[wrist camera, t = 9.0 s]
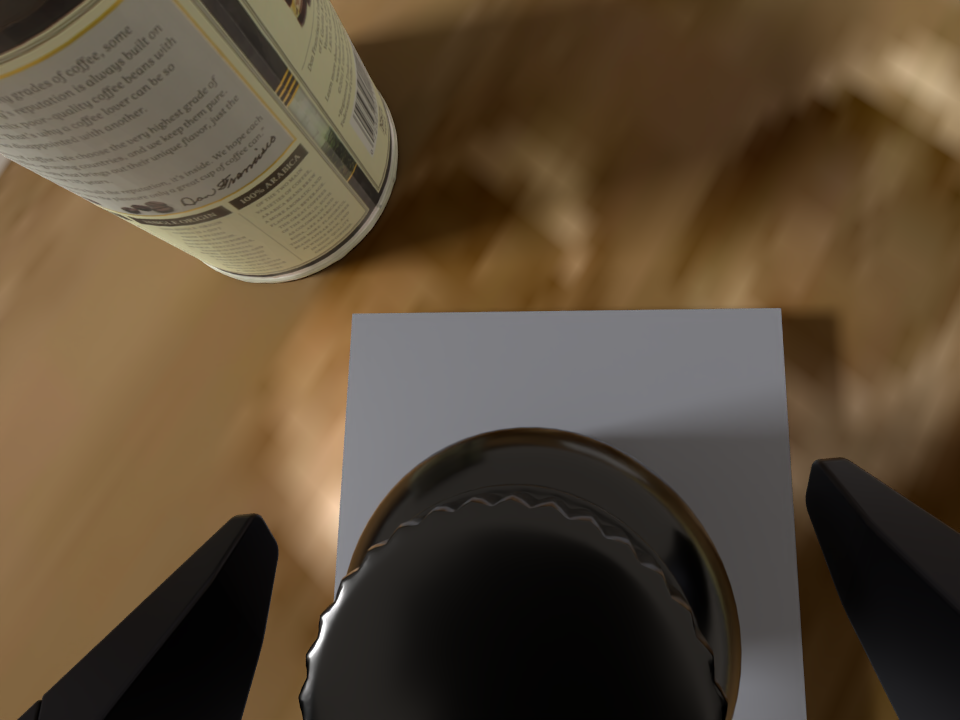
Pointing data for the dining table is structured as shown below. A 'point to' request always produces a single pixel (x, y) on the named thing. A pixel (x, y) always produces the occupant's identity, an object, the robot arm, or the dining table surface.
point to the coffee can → (203, 124)
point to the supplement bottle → (529, 594)
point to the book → (605, 433)
